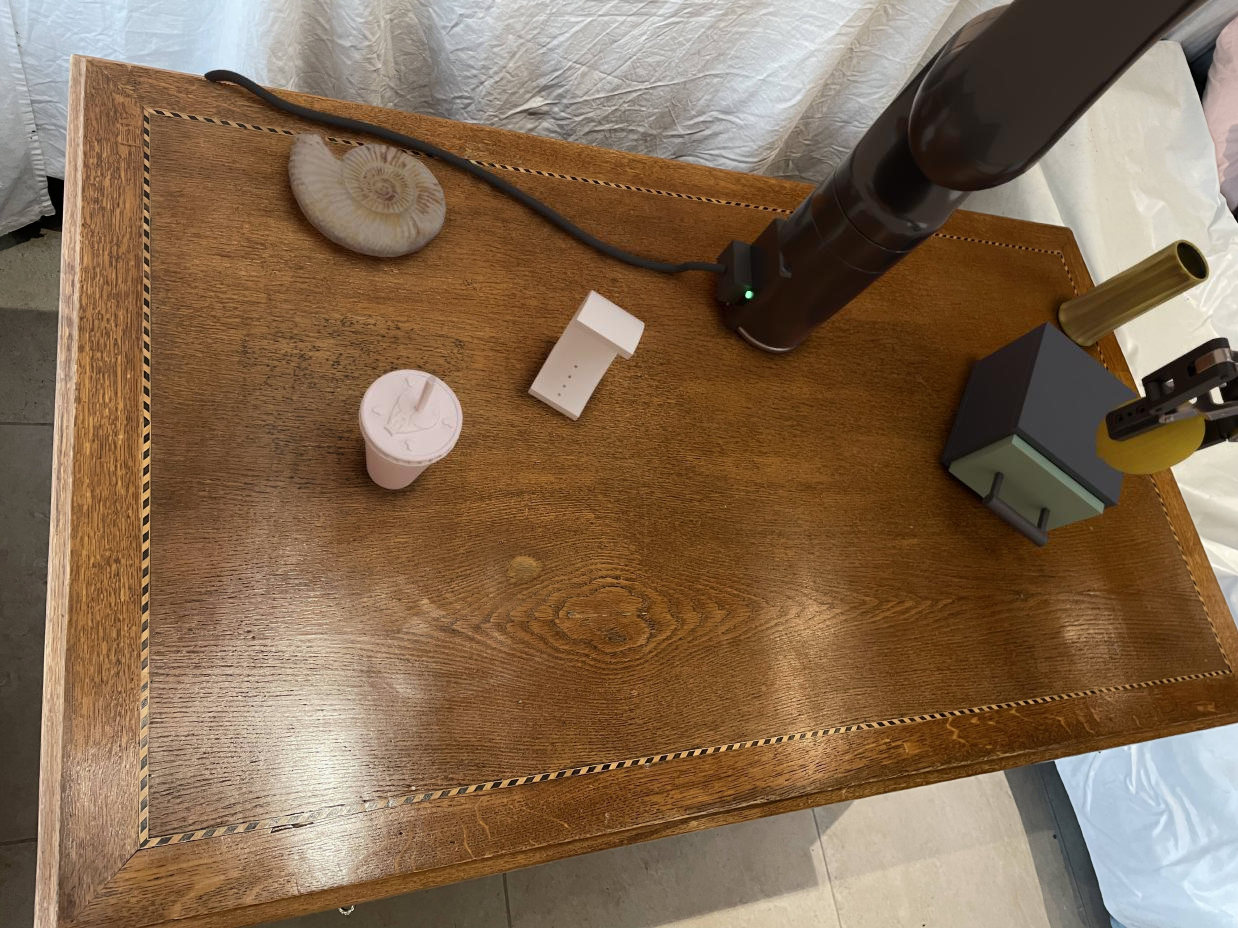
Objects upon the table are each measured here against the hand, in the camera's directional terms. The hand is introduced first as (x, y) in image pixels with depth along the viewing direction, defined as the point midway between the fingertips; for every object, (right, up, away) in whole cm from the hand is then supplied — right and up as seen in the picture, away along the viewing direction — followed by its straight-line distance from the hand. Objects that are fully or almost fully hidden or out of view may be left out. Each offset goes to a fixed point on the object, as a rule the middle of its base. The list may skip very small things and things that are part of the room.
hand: (1140, 436), depth 58 cm
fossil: (-59, +19, +6) cm, 62 cm away
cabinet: (+2, 0, +26) cm, 26 cm away
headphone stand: (-43, +5, +8) cm, 44 cm away
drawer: (+1, -3, +23) cm, 23 cm away
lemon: (-1, -1, +3) cm, 4 cm away
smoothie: (-55, -2, 0) cm, 55 cm away
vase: (+17, +15, +39) cm, 45 cm away
